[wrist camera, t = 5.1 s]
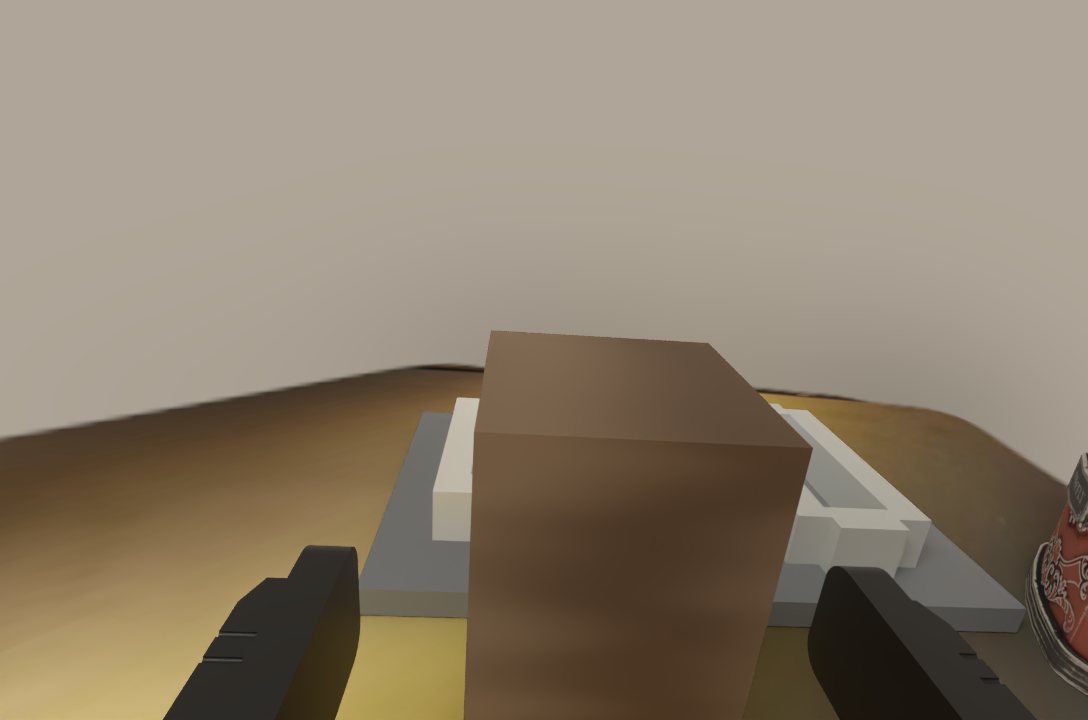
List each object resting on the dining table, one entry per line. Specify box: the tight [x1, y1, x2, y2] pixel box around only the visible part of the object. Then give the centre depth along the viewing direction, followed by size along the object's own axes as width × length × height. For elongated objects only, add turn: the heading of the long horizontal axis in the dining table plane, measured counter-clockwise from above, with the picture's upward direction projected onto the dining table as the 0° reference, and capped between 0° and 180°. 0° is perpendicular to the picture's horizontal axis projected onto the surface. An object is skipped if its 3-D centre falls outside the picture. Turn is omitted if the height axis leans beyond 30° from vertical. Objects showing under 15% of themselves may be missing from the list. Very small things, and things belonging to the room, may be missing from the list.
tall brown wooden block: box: [464, 331, 813, 720], centre depth 10 cm, size 4×4×11 cm
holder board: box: [359, 398, 1027, 633], centre depth 24 cm, size 22×13×3 cm, turn 92°
